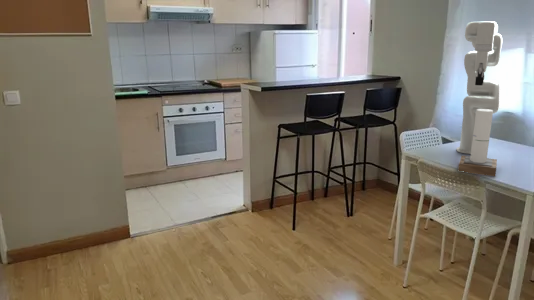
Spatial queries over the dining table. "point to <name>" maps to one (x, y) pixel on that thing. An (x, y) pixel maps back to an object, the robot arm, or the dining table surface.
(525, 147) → the dining table surface
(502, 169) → the dining table surface
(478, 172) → the walnut base
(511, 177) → the dining table surface
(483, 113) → the cylindrical container
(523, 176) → the dining table surface
